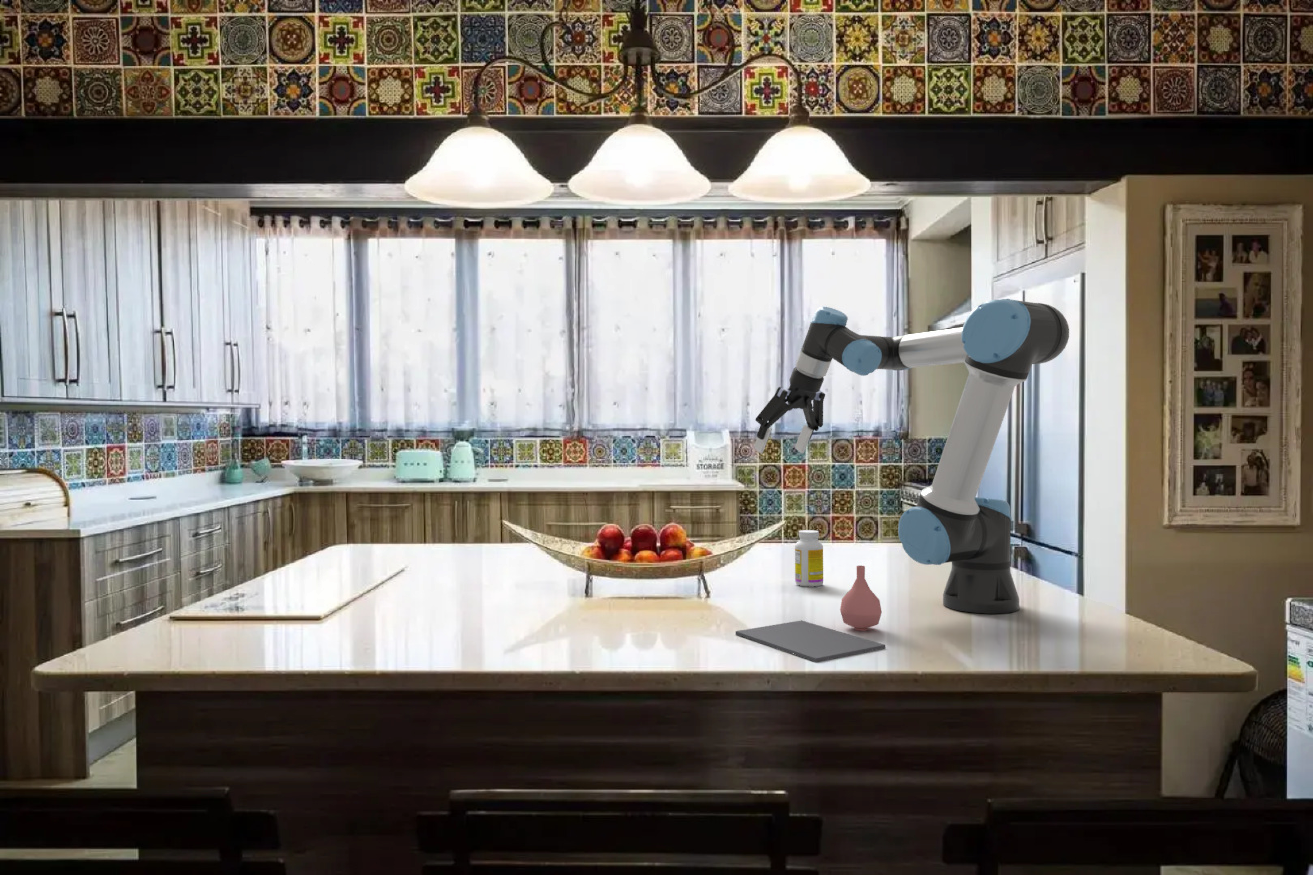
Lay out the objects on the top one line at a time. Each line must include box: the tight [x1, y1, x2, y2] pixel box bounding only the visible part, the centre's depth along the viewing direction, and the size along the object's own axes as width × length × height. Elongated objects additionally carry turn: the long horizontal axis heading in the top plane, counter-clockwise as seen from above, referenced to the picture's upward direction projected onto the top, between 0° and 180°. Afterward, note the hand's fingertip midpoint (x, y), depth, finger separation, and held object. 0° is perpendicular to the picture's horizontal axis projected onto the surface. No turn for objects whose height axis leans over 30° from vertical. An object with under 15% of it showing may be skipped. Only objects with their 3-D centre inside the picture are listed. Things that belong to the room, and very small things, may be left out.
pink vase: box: [839, 565, 882, 632], centre depth 169 cm, size 8×8×12 cm
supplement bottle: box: [794, 529, 824, 588], centre depth 213 cm, size 7×7×13 cm
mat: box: [735, 619, 886, 663], centre depth 161 cm, size 16×22×1 cm
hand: (778, 450), depth 218 cm, fingers open, 13 cm apart
